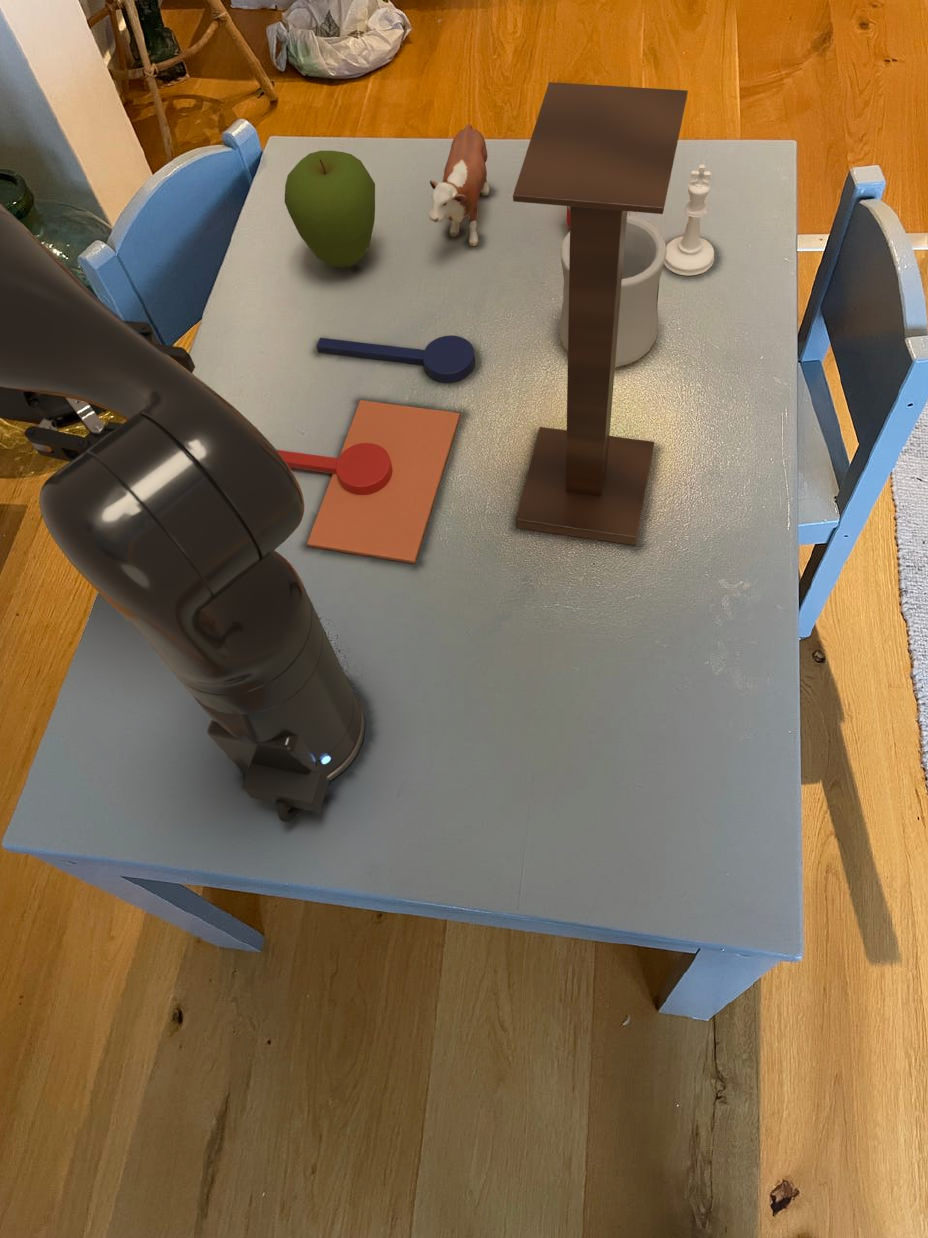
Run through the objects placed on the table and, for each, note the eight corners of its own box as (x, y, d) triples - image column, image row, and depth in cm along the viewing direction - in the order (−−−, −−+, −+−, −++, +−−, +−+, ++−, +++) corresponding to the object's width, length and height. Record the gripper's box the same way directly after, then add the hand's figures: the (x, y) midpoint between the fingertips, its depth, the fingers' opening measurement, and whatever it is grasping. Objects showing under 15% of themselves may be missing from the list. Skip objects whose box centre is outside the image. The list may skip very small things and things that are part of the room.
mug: (674, 351, 86) (687, 263, 77) (584, 385, 85) (587, 299, 76) (614, 267, 91) (621, 177, 83) (529, 298, 90) (526, 209, 82)
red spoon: (384, 498, 80) (381, 490, 79) (219, 474, 83) (215, 466, 82) (398, 454, 82) (396, 446, 81) (237, 432, 85) (233, 424, 84)
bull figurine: (429, 266, 94) (418, 196, 87) (460, 179, 100) (453, 106, 92) (471, 271, 93) (464, 200, 86) (500, 182, 99) (496, 109, 92)
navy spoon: (468, 385, 86) (467, 376, 85) (312, 366, 89) (309, 357, 88) (480, 347, 88) (479, 338, 87) (327, 329, 91) (324, 320, 90)
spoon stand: (635, 545, 76) (683, 209, 48) (516, 527, 78) (494, 193, 50) (653, 450, 80) (705, 90, 52) (539, 435, 82) (531, 80, 54)
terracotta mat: (415, 563, 77) (414, 561, 77) (307, 546, 79) (306, 543, 78) (460, 415, 84) (460, 412, 84) (361, 402, 86) (360, 399, 86)
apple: (318, 300, 93) (289, 200, 83) (294, 248, 97) (263, 147, 87) (399, 272, 94) (380, 169, 84) (372, 222, 98) (351, 118, 87)
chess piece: (711, 277, 90) (728, 185, 81) (660, 273, 90) (671, 182, 82) (715, 242, 92) (732, 149, 83) (665, 239, 93) (676, 147, 84)
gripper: (-58, 409, 76) (120, 436, 73) (21, 285, 82) (188, 306, 79) (-9, 465, 82) (156, 493, 79) (61, 347, 89) (216, 369, 86)
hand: (172, 400), depth 79 cm, fingers open, 8 cm apart
